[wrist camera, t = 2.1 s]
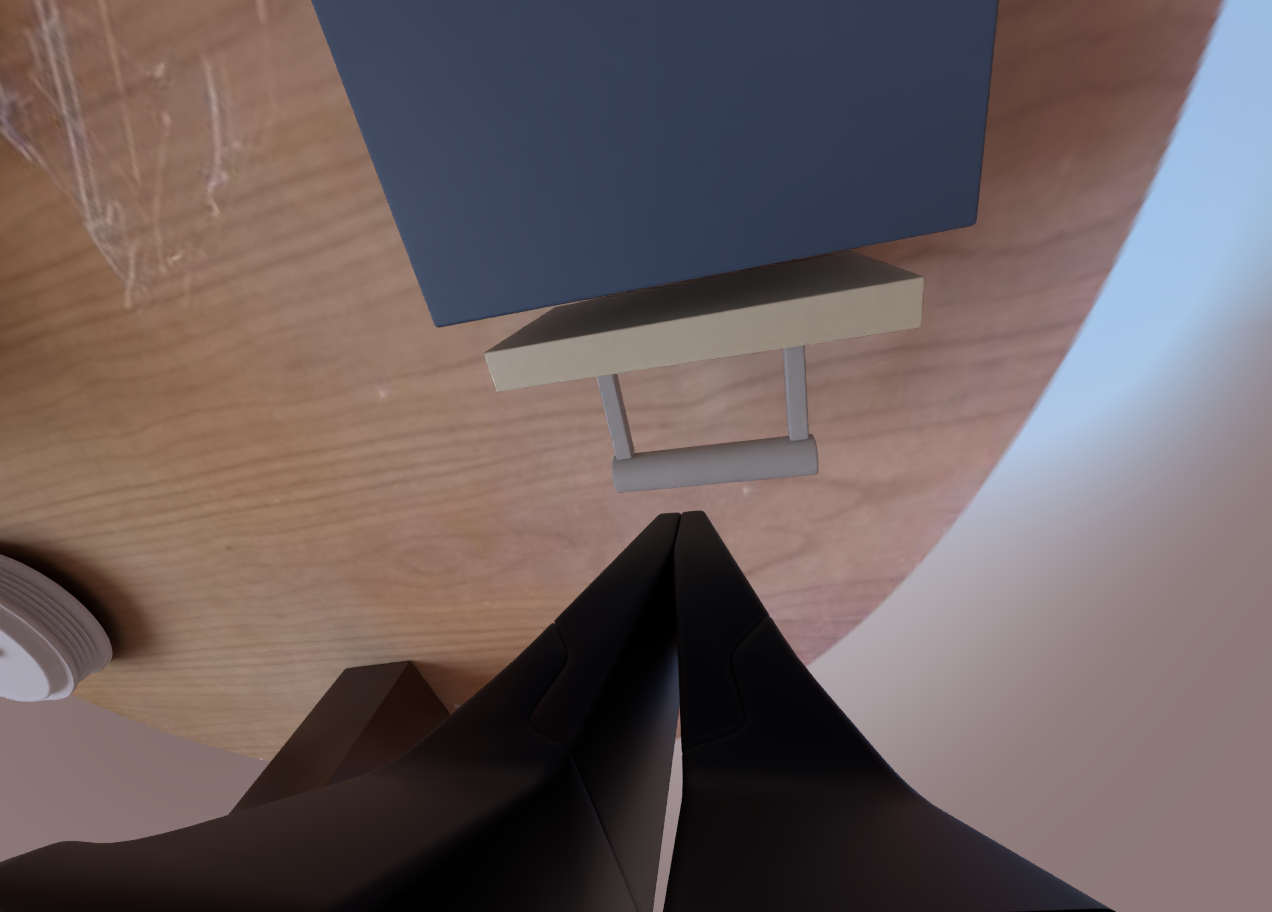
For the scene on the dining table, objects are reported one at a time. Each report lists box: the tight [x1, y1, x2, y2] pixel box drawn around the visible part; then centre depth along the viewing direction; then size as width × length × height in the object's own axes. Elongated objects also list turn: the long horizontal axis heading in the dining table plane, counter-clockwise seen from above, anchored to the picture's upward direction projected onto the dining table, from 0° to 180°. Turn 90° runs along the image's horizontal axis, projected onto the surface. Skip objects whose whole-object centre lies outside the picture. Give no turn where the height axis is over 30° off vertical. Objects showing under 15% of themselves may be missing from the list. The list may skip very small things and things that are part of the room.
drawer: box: [484, 251, 925, 493], centre depth 14 cm, size 21×11×7 cm, turn 12°
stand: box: [229, 661, 450, 815], centre depth 31 cm, size 6×6×10 cm
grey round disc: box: [0, 555, 112, 702], centre depth 35 cm, size 13×13×5 cm
